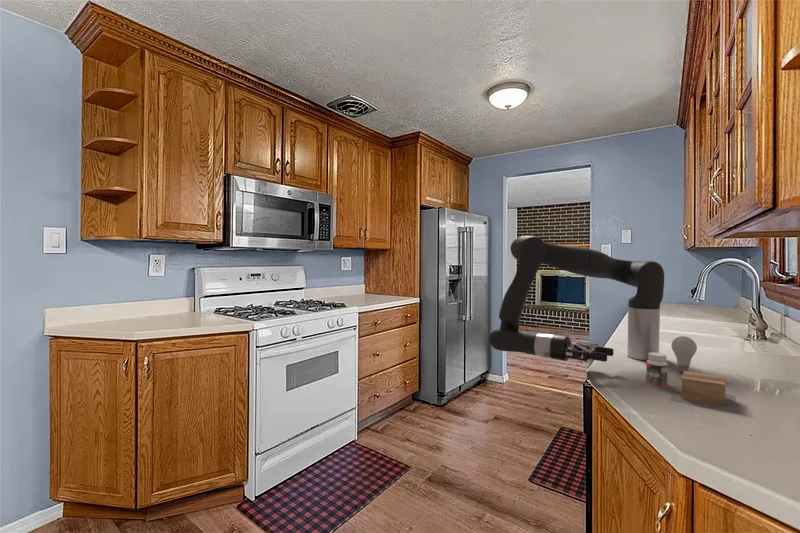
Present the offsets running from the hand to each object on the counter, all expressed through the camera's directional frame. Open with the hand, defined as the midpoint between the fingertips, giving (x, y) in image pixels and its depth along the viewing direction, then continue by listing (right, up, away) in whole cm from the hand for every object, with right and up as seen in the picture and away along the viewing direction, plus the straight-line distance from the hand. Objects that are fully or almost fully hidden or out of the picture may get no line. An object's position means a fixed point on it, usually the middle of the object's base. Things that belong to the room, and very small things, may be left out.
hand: (610, 355), depth 112 cm
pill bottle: (+9, -7, -7) cm, 13 cm away
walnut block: (+13, -6, -18) cm, 23 cm away
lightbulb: (+24, -7, +4) cm, 25 cm away
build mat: (+13, -7, -18) cm, 23 cm away
